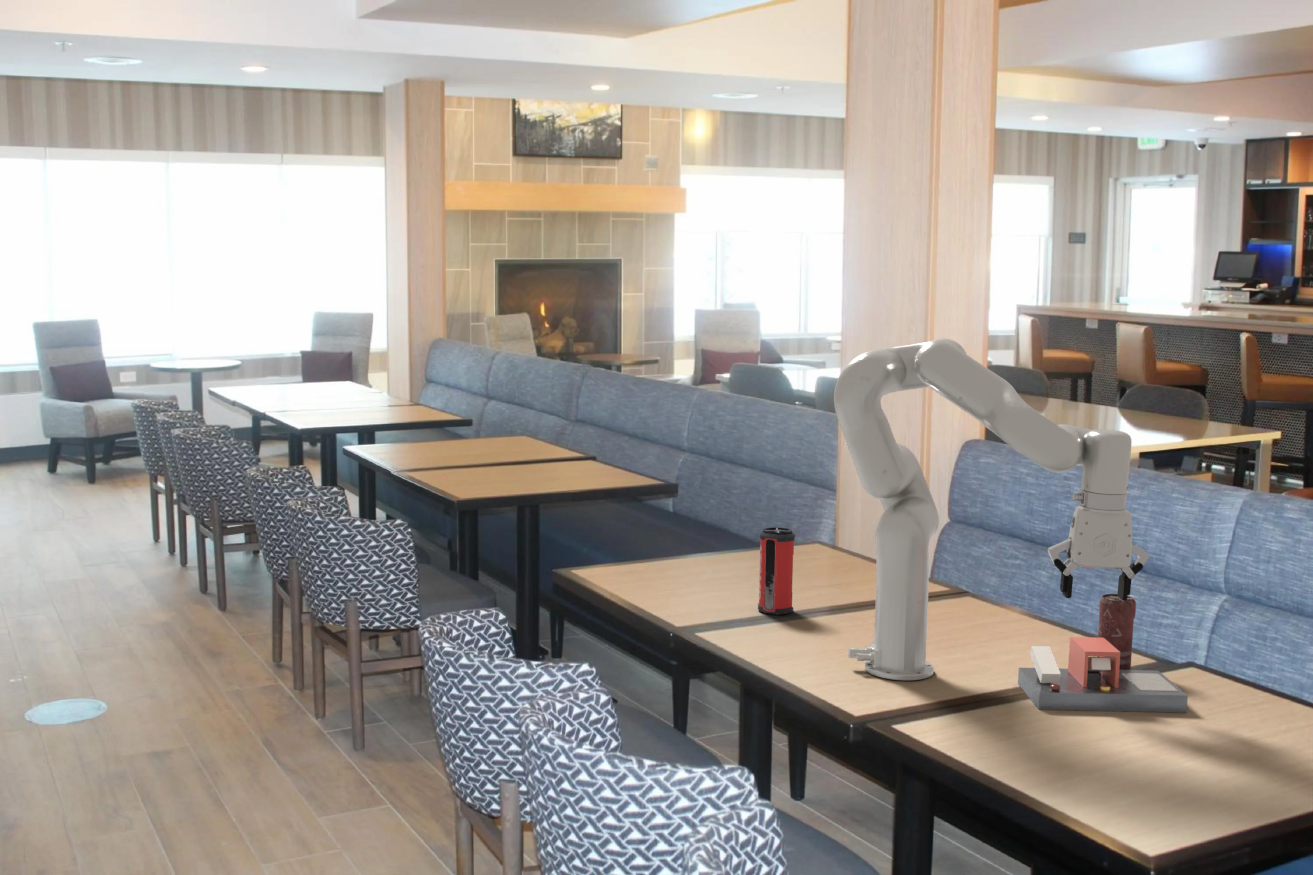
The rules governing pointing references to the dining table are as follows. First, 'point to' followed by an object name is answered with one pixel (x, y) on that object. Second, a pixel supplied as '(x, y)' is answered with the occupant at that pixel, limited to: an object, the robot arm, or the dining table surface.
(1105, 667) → the block
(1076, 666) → the cap
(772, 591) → the speaker
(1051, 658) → the block
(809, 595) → the dining table surface
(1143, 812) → the dining table surface
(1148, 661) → the dining table surface
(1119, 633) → the can
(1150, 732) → the dining table surface
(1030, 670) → the panel
